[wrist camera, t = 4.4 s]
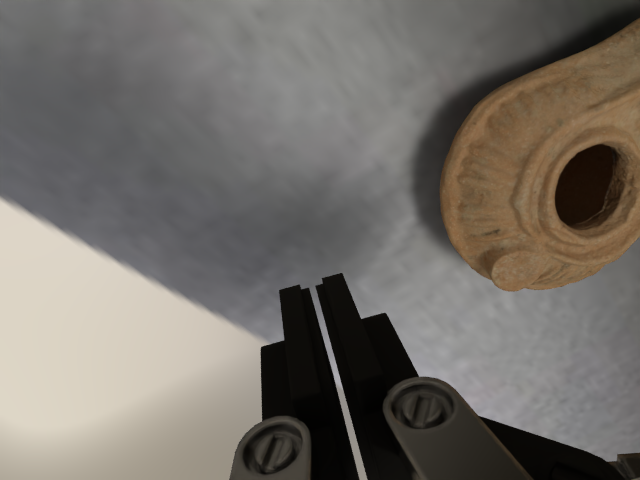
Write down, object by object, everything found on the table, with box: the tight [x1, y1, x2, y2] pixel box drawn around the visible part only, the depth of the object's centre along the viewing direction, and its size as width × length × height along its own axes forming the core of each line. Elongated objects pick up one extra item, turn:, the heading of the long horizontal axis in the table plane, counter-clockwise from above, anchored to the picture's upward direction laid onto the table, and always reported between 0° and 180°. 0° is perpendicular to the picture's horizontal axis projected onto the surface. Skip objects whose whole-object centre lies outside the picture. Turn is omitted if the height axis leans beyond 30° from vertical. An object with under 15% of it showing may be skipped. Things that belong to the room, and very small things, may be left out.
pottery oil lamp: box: [440, 18, 640, 291], centre depth 16 cm, size 9×12×7 cm
